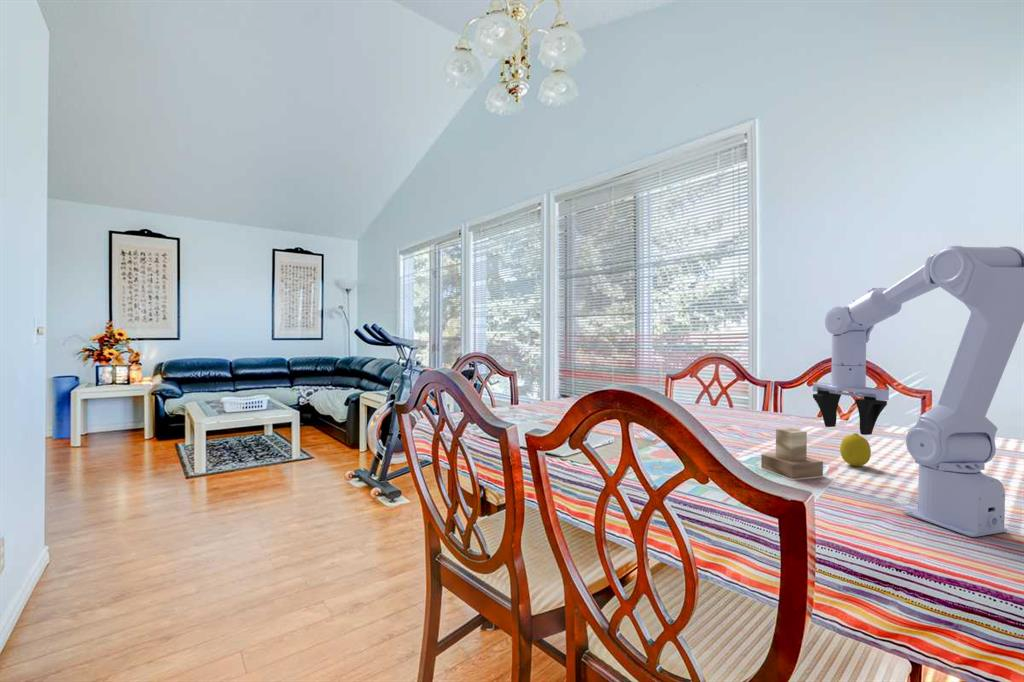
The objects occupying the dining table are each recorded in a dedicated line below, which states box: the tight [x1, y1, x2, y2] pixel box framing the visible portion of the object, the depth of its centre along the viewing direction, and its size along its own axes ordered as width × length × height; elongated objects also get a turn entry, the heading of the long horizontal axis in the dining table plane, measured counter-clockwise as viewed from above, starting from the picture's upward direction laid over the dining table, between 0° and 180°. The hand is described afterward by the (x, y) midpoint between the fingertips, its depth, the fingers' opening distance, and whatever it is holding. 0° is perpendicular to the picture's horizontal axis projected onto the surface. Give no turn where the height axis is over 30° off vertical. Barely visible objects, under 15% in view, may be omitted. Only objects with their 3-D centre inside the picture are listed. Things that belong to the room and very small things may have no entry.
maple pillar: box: [775, 427, 808, 461], centre depth 97 cm, size 4×4×6 cm
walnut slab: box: [760, 452, 824, 479], centre depth 97 cm, size 8×8×3 cm
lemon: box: [839, 432, 872, 468], centre depth 102 cm, size 6×6×8 cm
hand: (847, 430), depth 93 cm, fingers open, 7 cm apart
